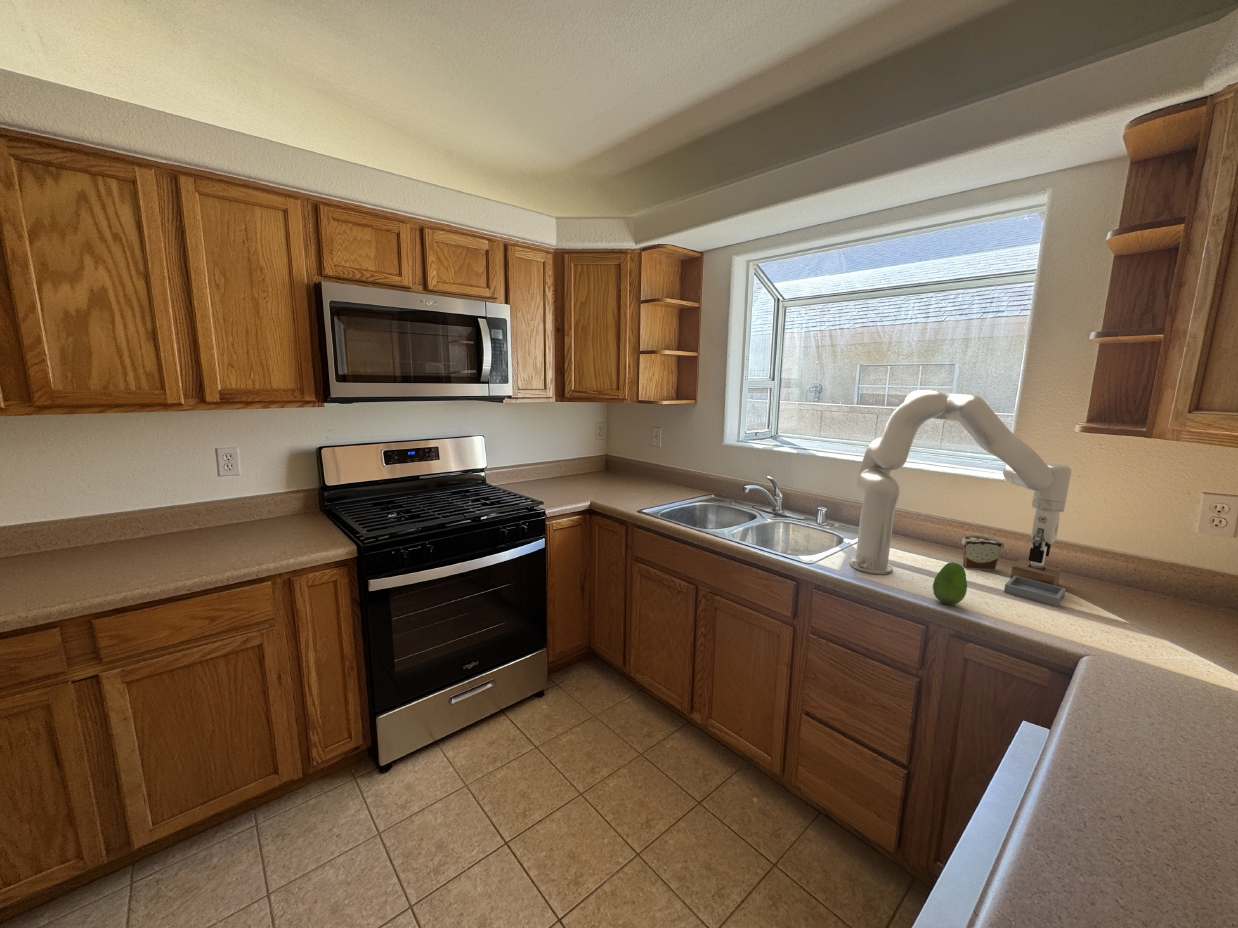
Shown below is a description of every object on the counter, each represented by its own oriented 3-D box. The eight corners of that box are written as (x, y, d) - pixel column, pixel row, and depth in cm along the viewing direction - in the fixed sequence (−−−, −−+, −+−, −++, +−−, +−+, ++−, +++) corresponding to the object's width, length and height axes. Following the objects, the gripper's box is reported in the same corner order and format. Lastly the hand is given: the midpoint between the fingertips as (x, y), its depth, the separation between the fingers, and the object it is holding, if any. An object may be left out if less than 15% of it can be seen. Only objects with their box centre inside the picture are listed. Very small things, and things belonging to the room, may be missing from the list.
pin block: (1051, 592, 147) (1054, 576, 146) (1010, 581, 155) (1012, 565, 154) (1058, 583, 153) (1061, 568, 153) (1017, 573, 161) (1020, 559, 160)
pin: (1039, 585, 152) (1046, 548, 150) (1026, 582, 154) (1033, 545, 152) (1041, 582, 154) (1048, 546, 152) (1029, 579, 156) (1035, 543, 154)
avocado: (968, 611, 133) (974, 569, 131) (934, 606, 135) (940, 564, 133) (959, 599, 140) (965, 559, 138) (927, 594, 143) (933, 555, 141)
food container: (988, 563, 169) (992, 535, 168) (1000, 570, 163) (1005, 541, 162) (950, 561, 171) (954, 533, 169) (960, 568, 165) (965, 539, 163)
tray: (1056, 606, 137) (1058, 598, 137) (1003, 592, 146) (1005, 584, 146) (1064, 596, 144) (1065, 588, 144) (1013, 582, 153) (1014, 575, 153)
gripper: (1059, 511, 141) (1048, 568, 144) (1069, 502, 152) (1059, 556, 155) (1025, 506, 147) (1016, 561, 150) (1038, 498, 158) (1029, 549, 161)
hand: (1038, 558), depth 153 cm, fingers open, 9 cm apart
